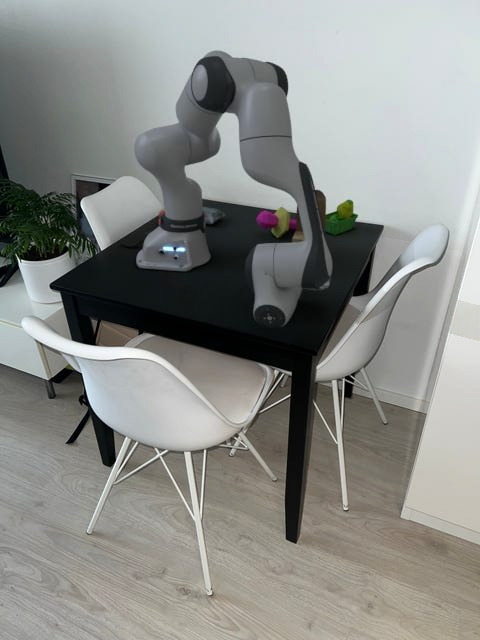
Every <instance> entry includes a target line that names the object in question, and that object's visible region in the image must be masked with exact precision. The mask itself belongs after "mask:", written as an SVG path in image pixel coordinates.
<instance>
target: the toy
mask: <svg viewBox="0 0 480 640" xmlns="http://www.w3.org/2000/svg"><path fill="white" fill-rule="evenodd" d="M256 223H257V225H258V226H259V227H260V228H261V229H263V230H265V229H266V230H267V229H271V232H270V233H272V234H273V236H275V238H277V239H278V238H279V239H280V238H282V237H283V236H284V235H285V234H286V233H287V232H288V231H296V219H293V218H291V213H290V212H289V211H288V210H287V209H286V208H285V207H283V206H280V207H279V208H278V209H277V210H276V211H275V212H274V213H272V212H270V211H269V210H266V209H265V210H262V211H260V212H259V214H258V215H257V216H256Z"/></svg>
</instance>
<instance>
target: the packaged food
mask: <svg viewBox="0 0 480 640" xmlns="http://www.w3.org/2000/svg"><path fill="white" fill-rule="evenodd" d="M203 212H204V215H205V225H213V224H215V223H216V222H218V221H221V220H222V219H223V218H224V217H226V214H225V212H223V211H222V210H220V209H218V208H214V207H208V206H203Z"/></svg>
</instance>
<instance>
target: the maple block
mask: <svg viewBox="0 0 480 640" xmlns="http://www.w3.org/2000/svg"><path fill="white" fill-rule="evenodd" d="M302 241H304V234H303V232H300V231H296V230H295V232H294V234H293V236H292V238H291V243H296V242H302Z"/></svg>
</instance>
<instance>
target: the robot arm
mask: <svg viewBox="0 0 480 640" xmlns="http://www.w3.org/2000/svg"><path fill="white" fill-rule="evenodd" d="M288 95H289V79H288V75H287V73H286V71H285V70H284V68H283V67H281V66H280V65H278V64H276V63H274V62H271V61H262V60H258V59H255V58H249V57H233V56H232V55H231V54H229V53H227V52H225V51H223V50H212V51H209V52H207V53H206V54H205V55H204V56H203V57H202V58H200V59H199V60H198V61H197V63H196V64H195V66H194V68H193V69H192V72H191V73H190V75H189V77H188V79H187V81H186V83H185V85H184V87H183V88H182V90H181V93H180V95H179V97H178V99H177V100H176V103H175V114H176V115H175V116H176V118H177V121H178V122H176V123H173V124H170V125H168V124H167V125H163V126H157V127H153V128H151V129H148V130H145V131H144V132H142V133H140V134H138V135H137V137H136V139H135V143H134V147H133V150H134V151H133V152H134V155H135V160H136V161H137V162H138V164H139V165H140V167H141V168H143V169H144V170H145V171H146V172H149V173H150V174H151V175H152V176H153V177H154V178H155V179H156V181H157V183H158V184H159V186H160V190H161V195H162V202H163V207H164V210H160V211H159V213H158V226H157V227H156V228H155V229H153V230H152V231H144V237H142V238H140V239H139V240H137V241H136V242H135V243H127V242H124V241H121V242H120V245H121V246H124V247H127V248H135V247H137V246H139V245H140V244H141V243H143V245H142V249H140V251H138V253H137V255H136V258H135V259H136V261H135V263H136V266H137V267H138V268H139V269H147V270H148V269H149V270H161V271H162V270H163V271H174V272H188V271H190V270H192V269H193V268H196V267H200V266H202V265H204V264H206V263H207V262H209V261H210V260H211V257H212V256H211V253H210V250H209V247H208V243H207V242H208V241H207V238H206V229H207V228H206V225H207V224H205V215H204V212H203V207H204V206H203V189H202V187H201V185H200V184H199V183H198V182H197V181H196V180H194V179H193V178H190V177H188V176H187V174H186V170H185V169H186V168H185V167H187V166H190V165H195V164H198V163H202V162H205V161H207V160H209V159H211V158H213V157H215V156H216V155H217V154H218V153H219V151H220V149H221V144H222V143H221V142H222V139H221V134H220V132H219V130H218V127H217V125H218V123H219V122H220V120H221V118H222V117H223V115H224V114H225V113H227V114H232V115H233V114H234V115H235V116H236V118H237V120H238V141H239V153H240V154H239V155H240V162H241V166H242V169H243V170H244V172H245V173H246V174H247V175H248V176H249V177H250V179H252V180H253V181H255V182H257V183H259V184H261V185H264V186H267V187H270V188H273V189H276V190H280V191H282V192H285V193H287V194H288V195H290V197H292V198H293V200H294V201H295V203H296V207H297V206H298V210H299V215H300V219H301V224H302V229H303V234H304V241H302V242H296V243H292V242H280V243H279V242H271V243H269V242H268V243H257V244H256V245H254V246H253V247H252V249H251V250H250V252H249V253H248V255H247V257H246V260H245V264H244V276H245V281H246V282H245V283H246V285H247V287H248V289H249V291H250V292H251V293H252V294H253V296H254V303H253V310H252V311H253V319H254V320H255V322H256V323H258V325H260V326H262V327H263V328H266V329H273V330H274V329H280V328H283V327H284V326H285V325H287V323H288V322H289V321H290V319H291V318H292V317H293V314H294V312H295V310H296V308H297V306H298V305H297V304H298V301H299V299H300V297H301V294H302V292H303V290H310V291H324V290H325V289H329V287H330V285H331V280H332V274H333V266H334V265H333V259H332V254H331V252H330V249H329V246H328V243H327V238H326V232H325V233H324V229H323V224H322V219H321V214H320V209H319V204H318V200H317V195H316V191H315V190H316V187H315V182H314V179H313V176H312V173H311V170H310V168H309V166H308V164H307V163H305V162H303V161H301V160H300V159H299V157H298V156H297V153H296V151H295V147H294V143H293V130H292V127H293V126H292V121H291V113H290V108H289V103H288V99H287V98H288Z"/></svg>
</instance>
